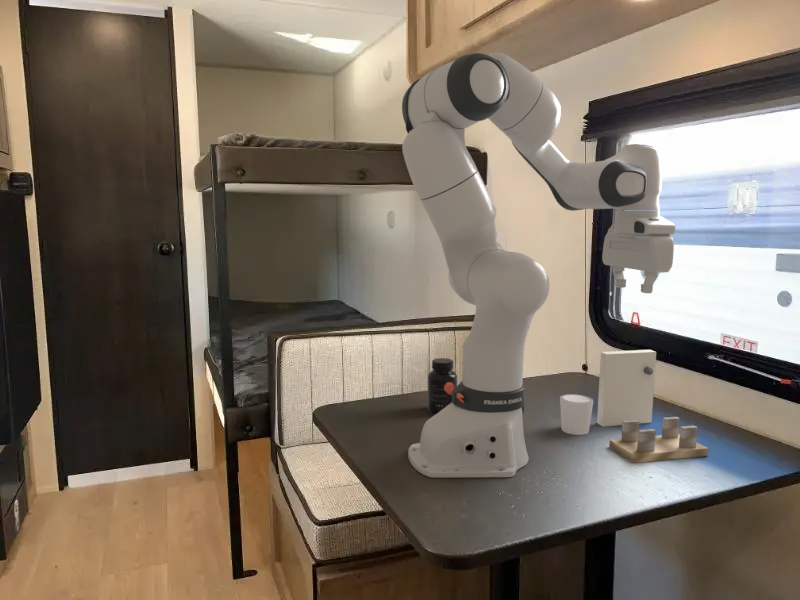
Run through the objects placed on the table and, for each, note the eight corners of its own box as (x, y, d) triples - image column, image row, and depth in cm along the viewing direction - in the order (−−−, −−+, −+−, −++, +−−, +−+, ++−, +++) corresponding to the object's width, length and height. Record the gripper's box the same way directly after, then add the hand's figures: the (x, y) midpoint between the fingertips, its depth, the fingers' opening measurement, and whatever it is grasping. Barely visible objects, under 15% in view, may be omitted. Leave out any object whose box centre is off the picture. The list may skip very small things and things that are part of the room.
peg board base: (633, 462, 114) (634, 434, 113) (609, 446, 122) (610, 420, 121) (707, 455, 118) (710, 428, 117) (680, 440, 125) (682, 414, 125)
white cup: (568, 422, 136) (570, 391, 135) (597, 430, 131) (599, 398, 130) (552, 429, 131) (553, 398, 130) (581, 438, 126) (583, 405, 125)
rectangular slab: (604, 428, 133) (609, 355, 130) (596, 423, 136) (600, 351, 133) (654, 424, 135) (659, 352, 133) (645, 419, 138) (650, 349, 136)
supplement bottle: (431, 405, 147) (431, 355, 146) (459, 407, 146) (460, 357, 144) (424, 414, 141) (425, 362, 139) (453, 416, 139) (454, 364, 137)
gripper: (596, 223, 139) (593, 284, 141) (652, 225, 119) (648, 296, 121) (621, 223, 140) (618, 283, 142) (681, 225, 120) (676, 295, 122)
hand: (632, 290), depth 132 cm, fingers open, 8 cm apart
